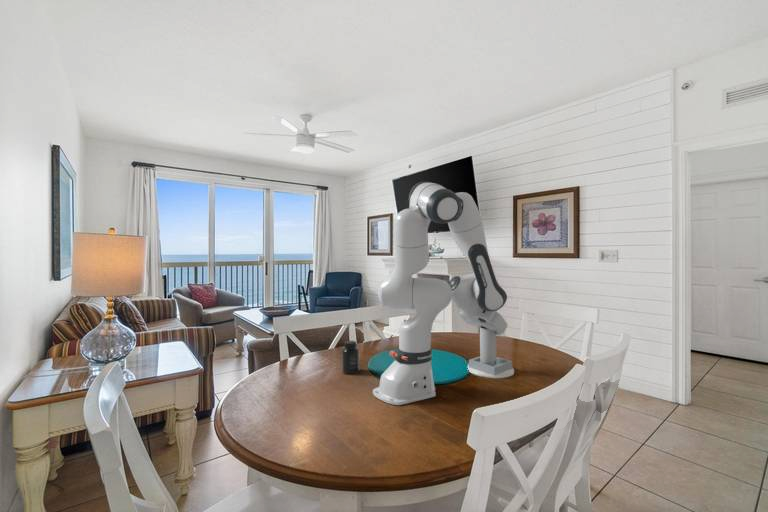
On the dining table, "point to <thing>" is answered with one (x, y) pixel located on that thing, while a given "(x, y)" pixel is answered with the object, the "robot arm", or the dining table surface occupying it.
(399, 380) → the robot arm
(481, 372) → the stand
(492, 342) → the travel mug
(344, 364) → the supplement bottle
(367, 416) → the dining table surface
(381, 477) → the dining table surface
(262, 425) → the dining table surface
